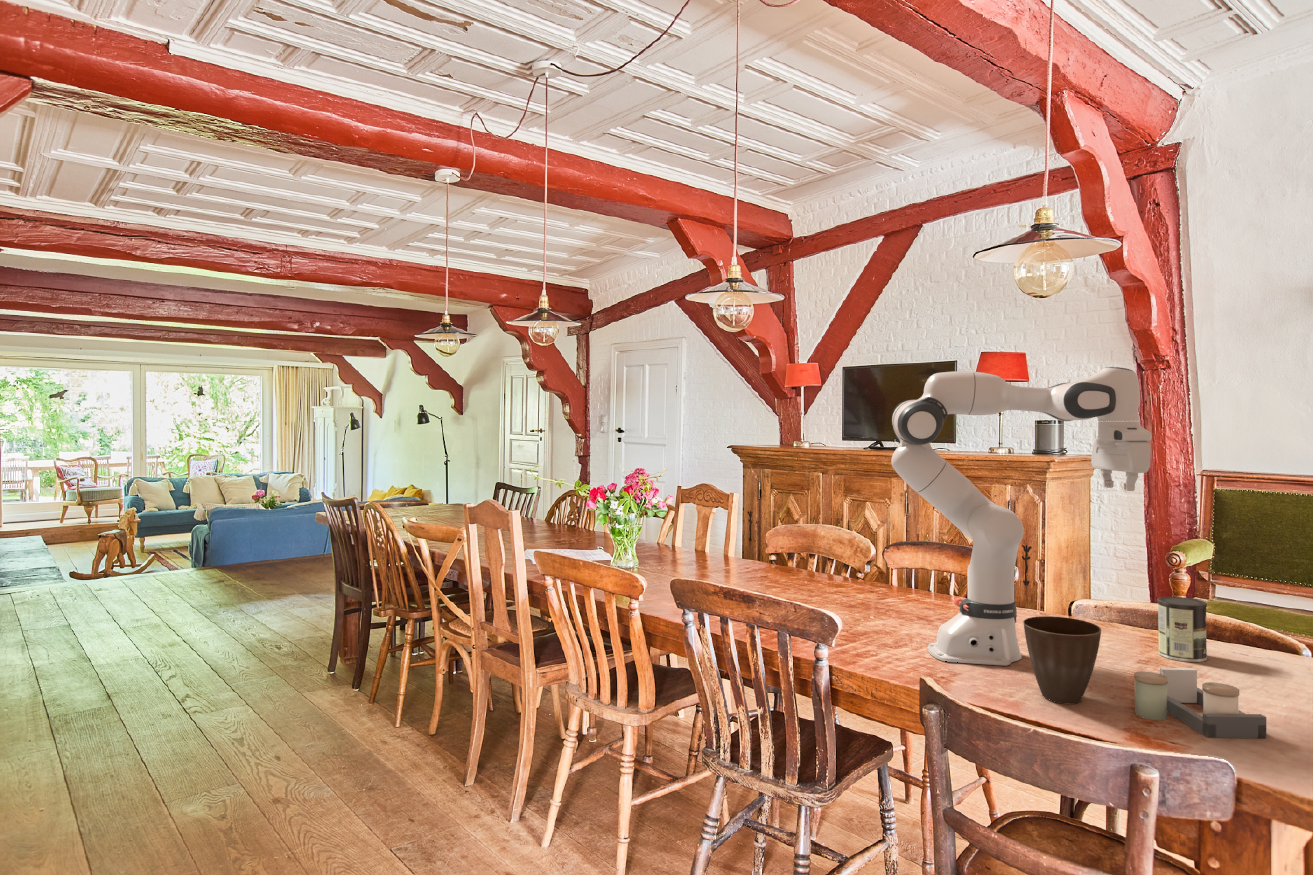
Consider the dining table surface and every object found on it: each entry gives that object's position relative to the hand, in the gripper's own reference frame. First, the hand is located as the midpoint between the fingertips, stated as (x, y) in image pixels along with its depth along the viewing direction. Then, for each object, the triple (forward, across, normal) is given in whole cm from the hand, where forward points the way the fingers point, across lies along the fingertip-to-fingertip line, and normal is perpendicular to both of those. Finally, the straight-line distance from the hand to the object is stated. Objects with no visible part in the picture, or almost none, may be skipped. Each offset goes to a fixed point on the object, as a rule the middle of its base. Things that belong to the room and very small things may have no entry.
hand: (1118, 489), depth 187 cm
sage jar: (+43, +34, -11) cm, 56 cm away
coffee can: (+43, -6, +19) cm, 47 cm away
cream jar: (+43, +40, -2) cm, 59 cm away
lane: (+43, +35, -2) cm, 56 cm away
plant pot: (+44, +25, -25) cm, 56 cm away
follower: (+43, +26, -2) cm, 50 cm away
